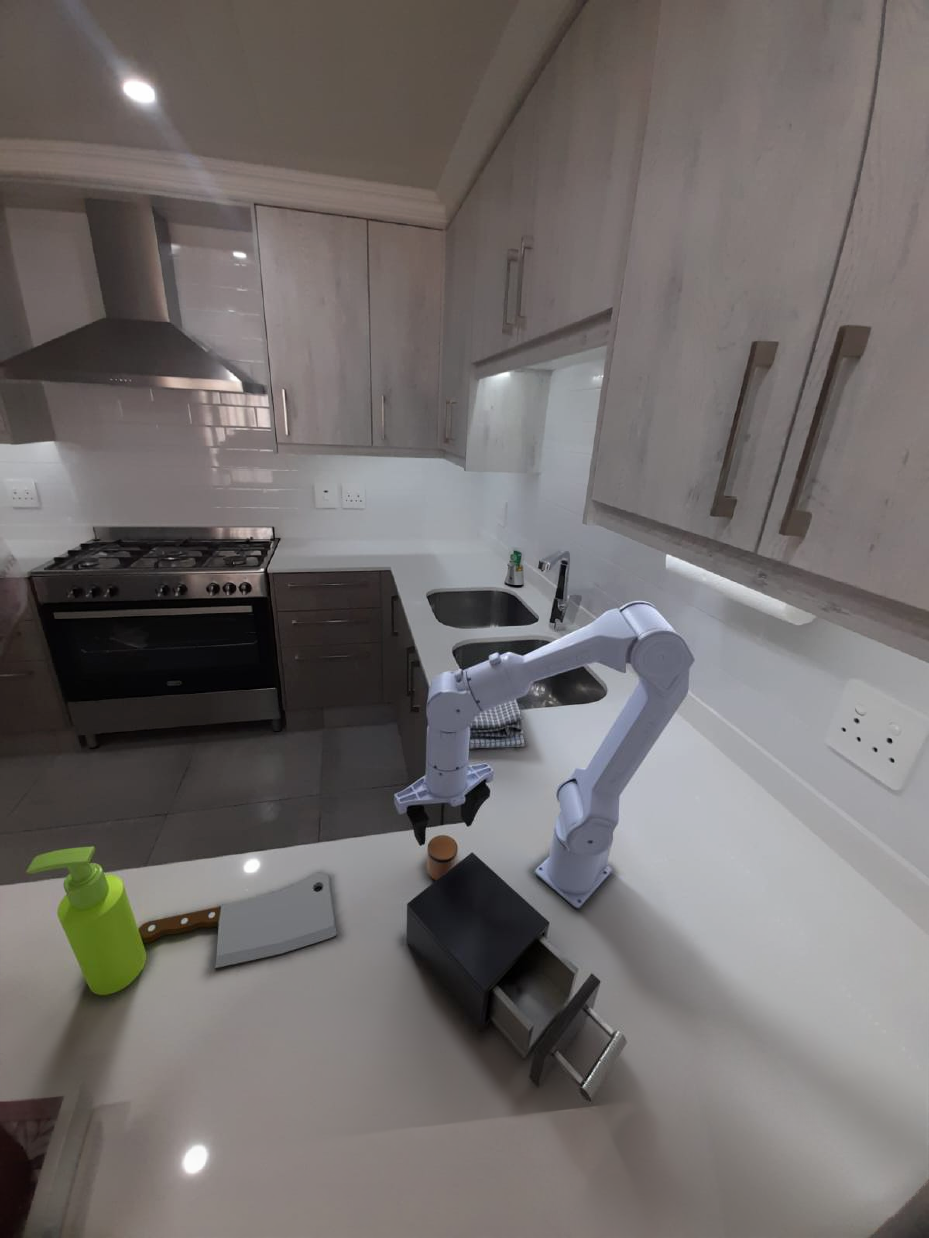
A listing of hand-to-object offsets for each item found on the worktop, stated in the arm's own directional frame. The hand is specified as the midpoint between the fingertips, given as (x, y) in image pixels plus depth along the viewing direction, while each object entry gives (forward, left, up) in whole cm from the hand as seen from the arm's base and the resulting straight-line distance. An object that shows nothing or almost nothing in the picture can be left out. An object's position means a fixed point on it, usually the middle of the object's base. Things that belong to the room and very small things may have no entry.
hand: (443, 830), depth 71 cm
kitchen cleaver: (+26, -11, -8) cm, 29 cm away
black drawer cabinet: (+5, +12, -8) cm, 15 cm away
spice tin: (0, 0, -8) cm, 8 cm away
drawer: (+5, +23, -7) cm, 24 cm away
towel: (-31, -21, -8) cm, 38 cm away
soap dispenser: (+39, -16, -8) cm, 43 cm away
